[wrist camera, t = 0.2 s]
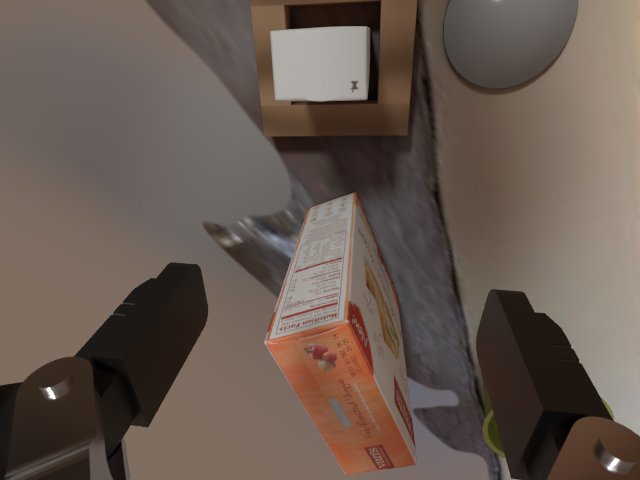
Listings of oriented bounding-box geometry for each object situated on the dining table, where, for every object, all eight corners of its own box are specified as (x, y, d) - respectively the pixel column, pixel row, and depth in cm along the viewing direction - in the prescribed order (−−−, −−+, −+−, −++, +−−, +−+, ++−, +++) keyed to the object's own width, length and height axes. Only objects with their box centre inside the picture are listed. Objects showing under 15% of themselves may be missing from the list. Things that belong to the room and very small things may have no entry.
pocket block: (254, -31, 31) (246, -35, 29) (417, -41, 30) (420, -46, 28) (270, 130, 38) (264, 136, 36) (405, 129, 36) (407, 135, 34)
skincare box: (370, 25, 33) (371, 24, 22) (369, 79, 35) (369, 102, 24) (299, 28, 33) (267, 29, 23) (302, 81, 35) (274, 104, 25)
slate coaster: (451, -51, 29) (452, -52, 29) (591, -60, 28) (595, -61, 28) (436, 88, 34) (437, 89, 34) (556, 86, 33) (559, 87, 33)
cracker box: (400, 292, 45) (421, 470, 27) (352, 304, 47) (341, 480, 29) (359, 187, 40) (351, 323, 21) (306, 205, 41) (257, 346, 23)
